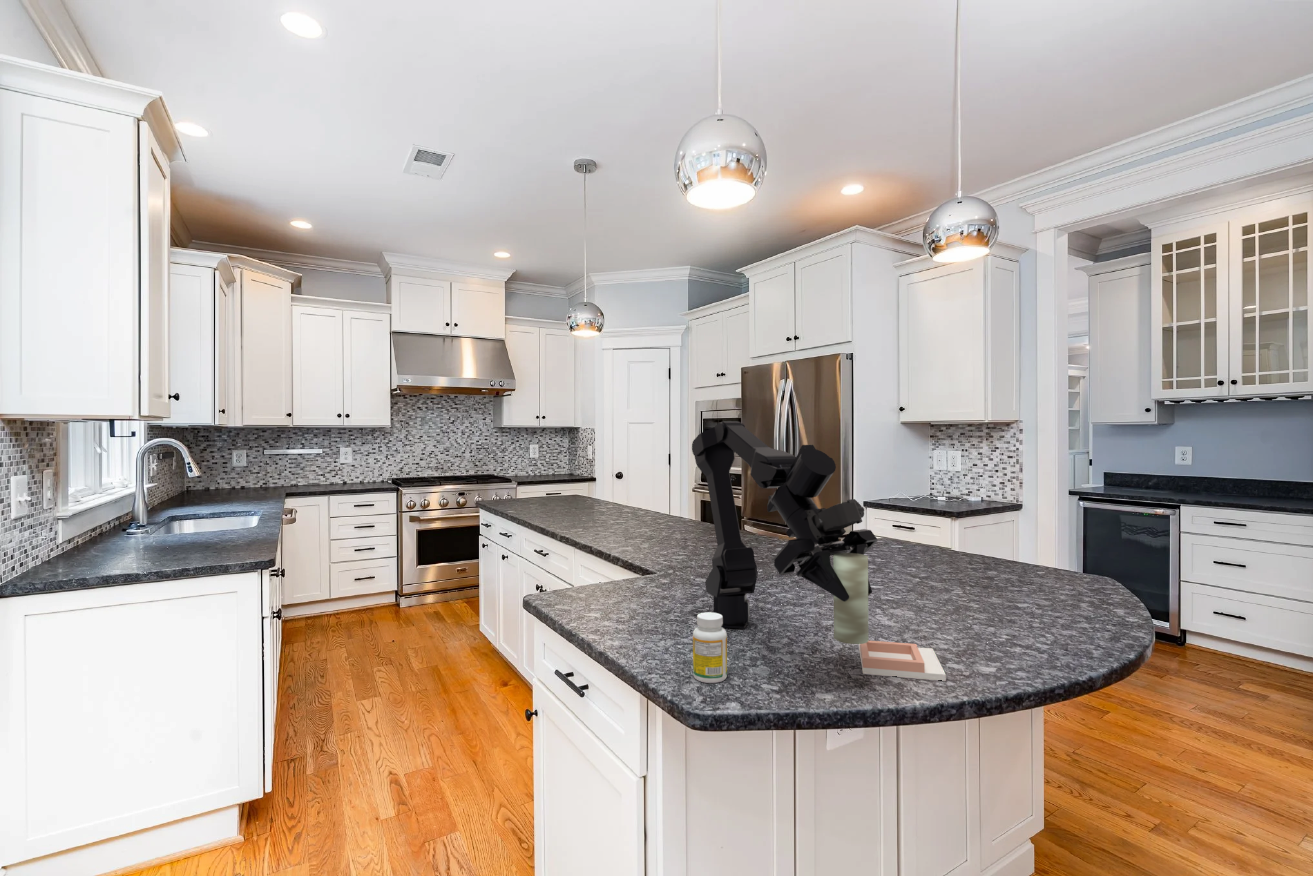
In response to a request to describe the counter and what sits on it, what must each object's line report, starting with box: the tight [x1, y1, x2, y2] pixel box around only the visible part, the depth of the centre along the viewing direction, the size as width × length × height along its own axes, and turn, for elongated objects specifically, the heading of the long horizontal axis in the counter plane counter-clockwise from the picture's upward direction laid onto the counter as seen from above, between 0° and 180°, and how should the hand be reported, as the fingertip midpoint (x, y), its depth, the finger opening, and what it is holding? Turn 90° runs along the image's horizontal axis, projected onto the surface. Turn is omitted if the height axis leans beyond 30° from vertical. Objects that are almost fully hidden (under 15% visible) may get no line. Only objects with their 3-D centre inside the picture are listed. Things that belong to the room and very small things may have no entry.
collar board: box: [858, 640, 947, 682], centre depth 102 cm, size 12×12×2 cm
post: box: [832, 553, 870, 645], centre depth 93 cm, size 5×5×12 cm
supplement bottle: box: [692, 611, 728, 684], centre depth 97 cm, size 5×5×10 cm
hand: (858, 597), depth 92 cm, fingers closed on post, 5 cm apart
